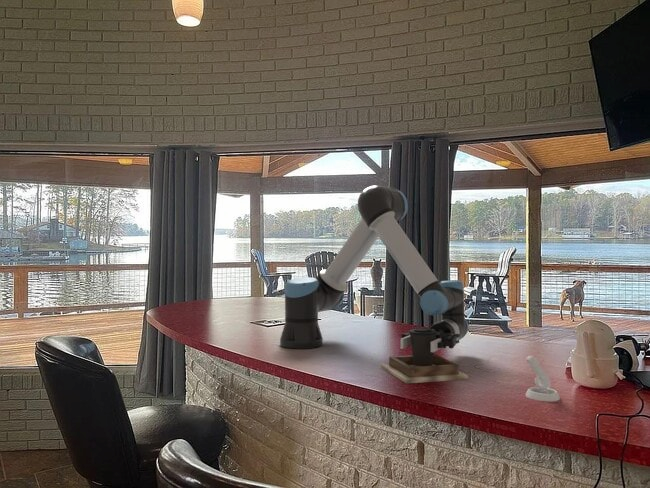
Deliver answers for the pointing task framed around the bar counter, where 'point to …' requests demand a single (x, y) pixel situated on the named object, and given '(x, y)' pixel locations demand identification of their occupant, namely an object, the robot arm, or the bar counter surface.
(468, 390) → the bar counter surface
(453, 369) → the collar board
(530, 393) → the white ring with rod
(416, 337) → the coffee cup
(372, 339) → the bar counter surface
